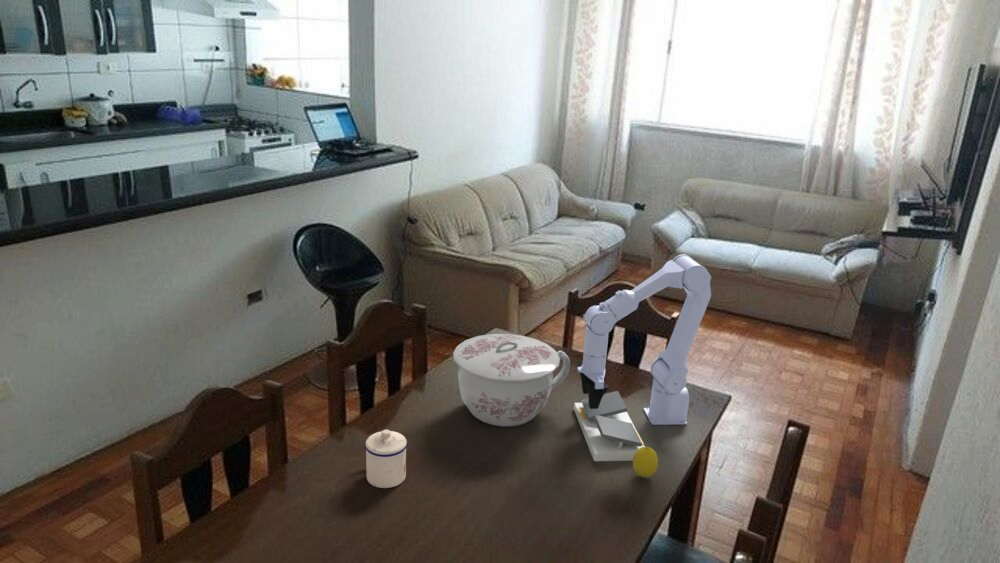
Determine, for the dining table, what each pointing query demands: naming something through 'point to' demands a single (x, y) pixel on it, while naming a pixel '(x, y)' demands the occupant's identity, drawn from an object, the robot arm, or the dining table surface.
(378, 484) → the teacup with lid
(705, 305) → the robot arm
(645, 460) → the lemon
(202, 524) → the dining table surface
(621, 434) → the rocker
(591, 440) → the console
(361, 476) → the dining table surface
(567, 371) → the chamber pot
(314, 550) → the dining table surface
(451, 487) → the dining table surface
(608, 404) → the rocker
